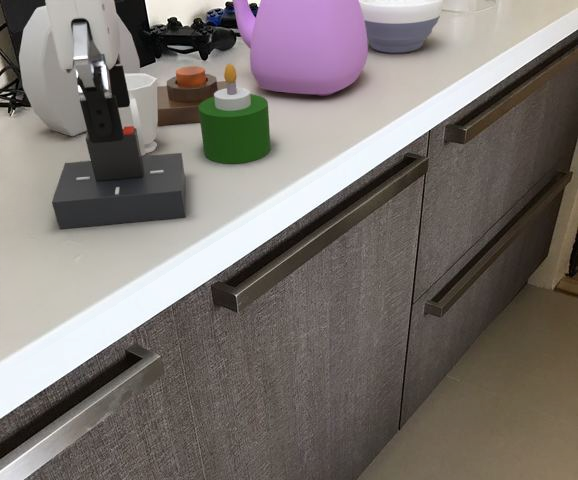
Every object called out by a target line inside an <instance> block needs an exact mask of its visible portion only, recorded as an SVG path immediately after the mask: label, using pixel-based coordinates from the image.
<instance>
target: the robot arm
mask: <svg viewBox="0 0 578 480" xmlns="http://www.w3.org/2000/svg"><path fill="white" fill-rule="evenodd" d="M44 2H45V6H46V7H47V12H48V16H49V21H50V25H51V30H52V34H53V38H54V43H55V47H56V52H57V56H58V61H59V65H60V68H61V70H62V71H64V72H65V73H70V72H71V70H72V69H73V67H74V65H75V68H76V76H77V84H78V92H79V97H80V104H81V108H82V112H83V116H84V120H85V124H86V128H87V131H86V133H88V136H89V140H90V141H91V142H92V143H104V142H114V141H121V140H123V138H124V133H123V129H122V124H121V119H120V115H119V110H118V108H123V107H128V106H129V105H130V99H129V94H128V89H127V84H126V79H125V74H124V69H123V65H121V66H116V65H120V64H121V62H120V56H119V50H120V34H119V27H118V20H117V15H118V13H117V9H116V3H115V0H44Z"/></svg>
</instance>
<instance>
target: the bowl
mask: <svg viewBox="0 0 578 480" xmlns="http://www.w3.org/2000/svg"><path fill="white" fill-rule="evenodd" d="M359 3H360V6H361V9H362V13H363V17H364V21H365V26H366V33H367V40H369V45H370V48H371V49H374V51H377V52H379V53H380V52H381V53H386V54H406V53H411V52H415V51H416V50H419V49H421V48H422V46H423V45H424V43H425V40H426V39H427V38H428V37H429V36H430V35H431V34H432V32H433V28H434V27H435V26H436V25H437V23H438V22H439V19H440V17H441V15H442V13H443V6H444V0H359Z"/></svg>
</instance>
